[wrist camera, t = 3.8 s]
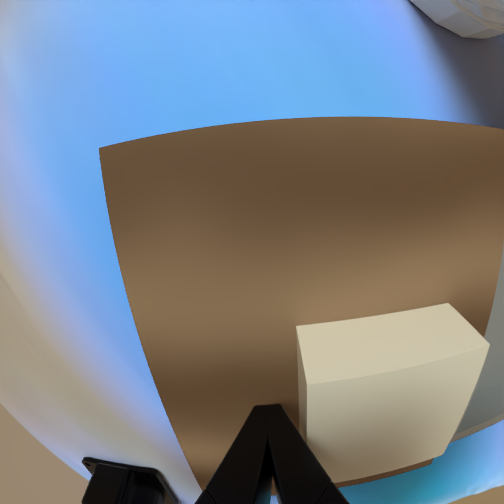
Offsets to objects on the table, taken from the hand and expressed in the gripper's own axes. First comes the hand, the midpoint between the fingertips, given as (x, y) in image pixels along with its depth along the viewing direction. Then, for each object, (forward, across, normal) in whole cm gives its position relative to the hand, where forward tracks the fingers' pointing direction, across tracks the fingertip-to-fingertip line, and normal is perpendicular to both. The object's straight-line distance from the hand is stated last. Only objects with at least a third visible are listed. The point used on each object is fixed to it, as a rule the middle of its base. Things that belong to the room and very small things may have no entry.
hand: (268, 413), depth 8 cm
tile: (+1, -4, 0) cm, 4 cm away
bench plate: (+5, -2, 0) cm, 6 cm away
